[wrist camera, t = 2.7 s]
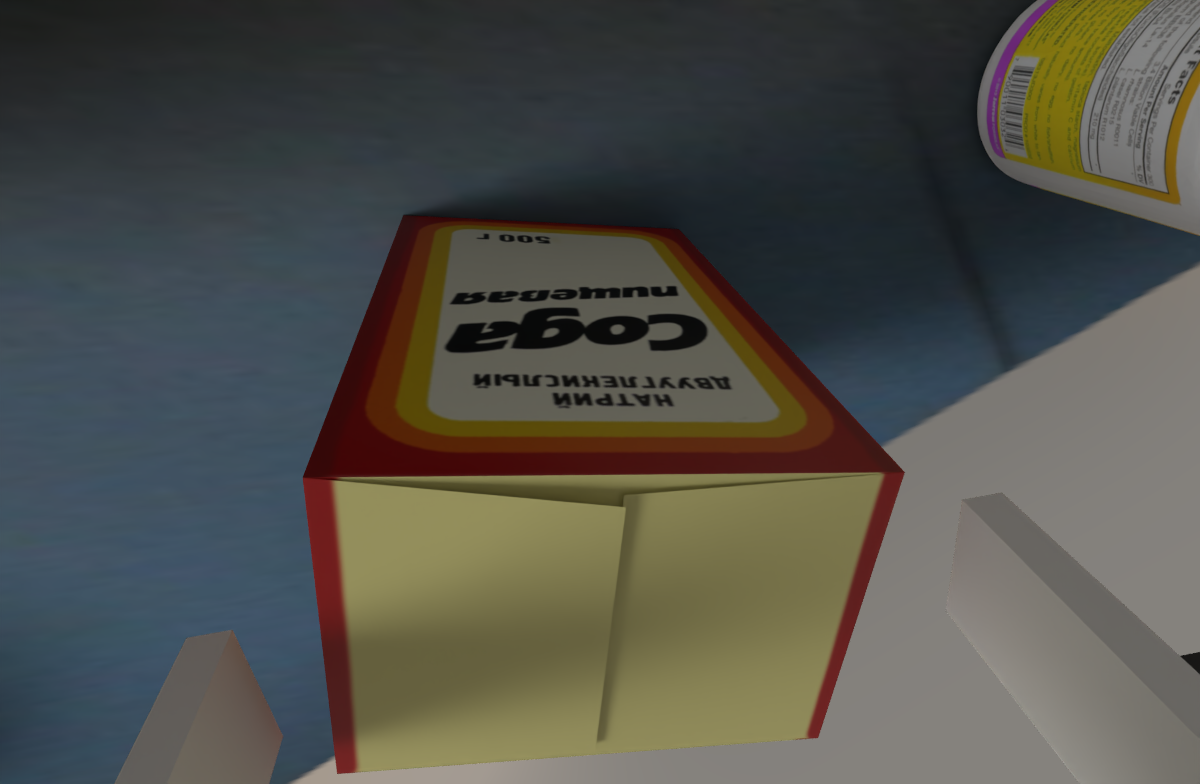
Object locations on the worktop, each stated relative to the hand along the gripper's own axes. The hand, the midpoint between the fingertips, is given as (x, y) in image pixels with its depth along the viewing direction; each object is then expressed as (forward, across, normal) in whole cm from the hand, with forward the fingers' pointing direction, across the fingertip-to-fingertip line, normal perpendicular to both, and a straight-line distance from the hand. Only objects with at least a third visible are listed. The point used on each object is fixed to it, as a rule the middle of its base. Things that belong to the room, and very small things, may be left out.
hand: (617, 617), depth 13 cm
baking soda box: (+15, 0, 0) cm, 15 cm away
